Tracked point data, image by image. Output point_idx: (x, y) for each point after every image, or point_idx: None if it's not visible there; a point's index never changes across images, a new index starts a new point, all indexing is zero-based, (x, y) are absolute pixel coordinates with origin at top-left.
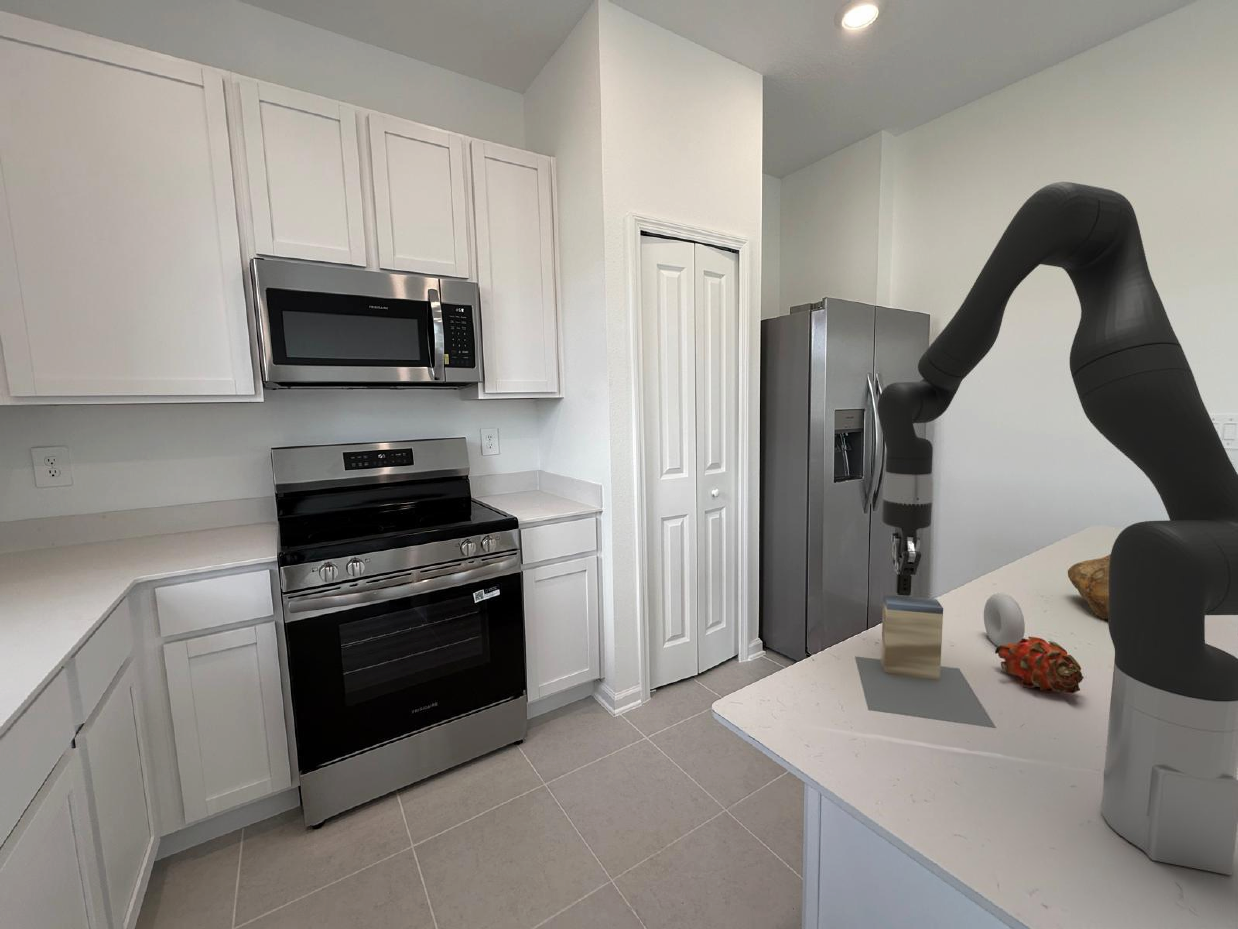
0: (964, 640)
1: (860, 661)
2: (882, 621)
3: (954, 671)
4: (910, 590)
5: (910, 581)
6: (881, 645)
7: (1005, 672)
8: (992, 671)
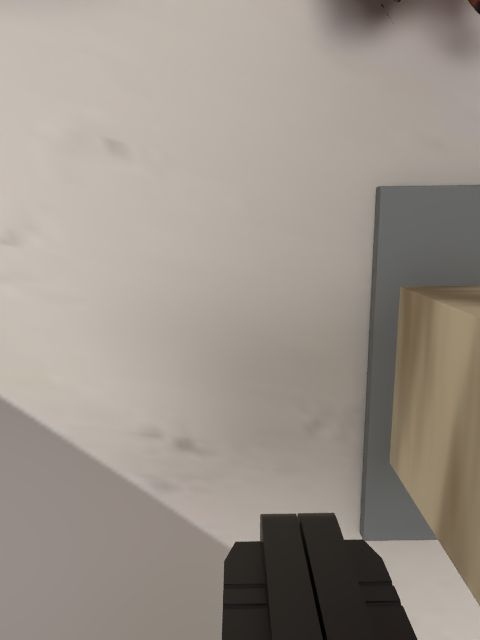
0: (33, 72)
1: (401, 527)
2: (475, 592)
3: (413, 211)
4: (343, 539)
5: (370, 620)
6: (415, 503)
7: (475, 6)
8: (339, 43)
